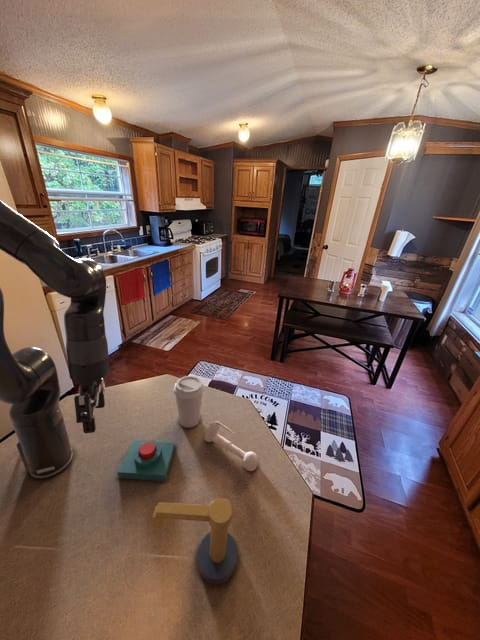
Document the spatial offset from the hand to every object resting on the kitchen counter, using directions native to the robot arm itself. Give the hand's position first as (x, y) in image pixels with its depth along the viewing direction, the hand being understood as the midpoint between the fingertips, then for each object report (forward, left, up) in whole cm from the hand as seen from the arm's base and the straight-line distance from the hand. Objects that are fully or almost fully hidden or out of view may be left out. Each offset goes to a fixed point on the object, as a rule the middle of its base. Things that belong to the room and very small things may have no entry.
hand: (95, 418), depth 58 cm
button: (+10, +4, -15) cm, 18 cm away
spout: (+26, -16, -8) cm, 31 cm away
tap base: (+31, -16, -19) cm, 39 cm away
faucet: (+32, +9, -19) cm, 38 cm away
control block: (+10, +4, -19) cm, 21 cm away
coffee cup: (+18, +20, -19) cm, 33 cm away
